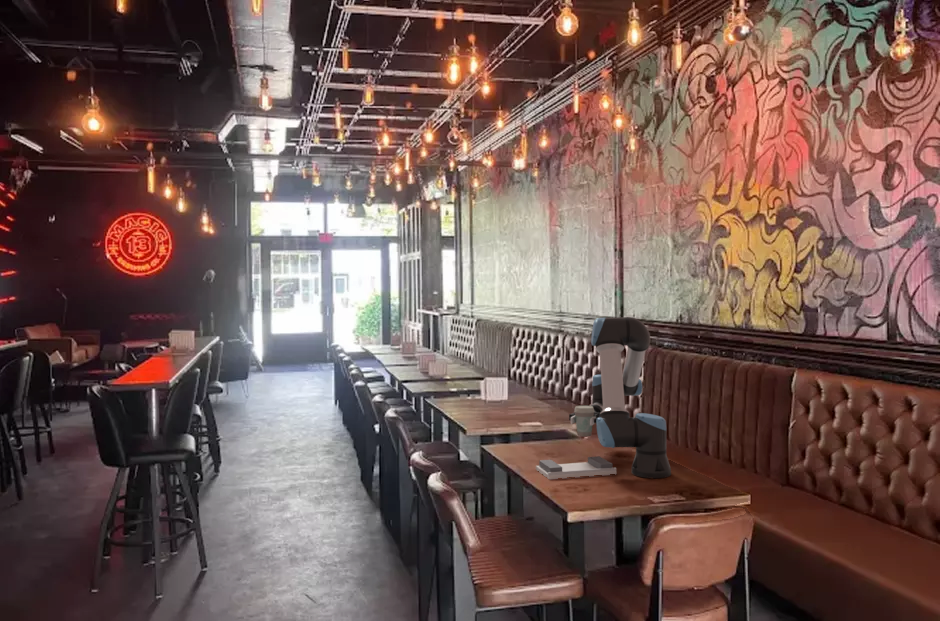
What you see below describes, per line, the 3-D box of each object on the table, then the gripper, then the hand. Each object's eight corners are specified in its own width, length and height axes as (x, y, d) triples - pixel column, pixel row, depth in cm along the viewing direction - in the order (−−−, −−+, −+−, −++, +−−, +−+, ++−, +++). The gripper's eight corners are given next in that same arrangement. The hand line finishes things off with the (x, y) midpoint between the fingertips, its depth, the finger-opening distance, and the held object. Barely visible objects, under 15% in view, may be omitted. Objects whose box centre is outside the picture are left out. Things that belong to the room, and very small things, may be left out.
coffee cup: (570, 435, 309) (570, 407, 308) (581, 432, 315) (581, 404, 315) (587, 438, 303) (587, 409, 303) (598, 434, 310) (598, 406, 309)
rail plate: (600, 464, 304) (599, 455, 304) (616, 474, 288) (616, 464, 288) (535, 469, 297) (535, 459, 297) (548, 479, 282) (548, 469, 282)
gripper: (618, 422, 321) (605, 432, 300) (572, 419, 330) (557, 428, 309) (618, 405, 321) (605, 414, 300) (572, 402, 329) (557, 411, 309)
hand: (581, 421), depth 305 cm, fingers closed on coffee cup, 8 cm apart
